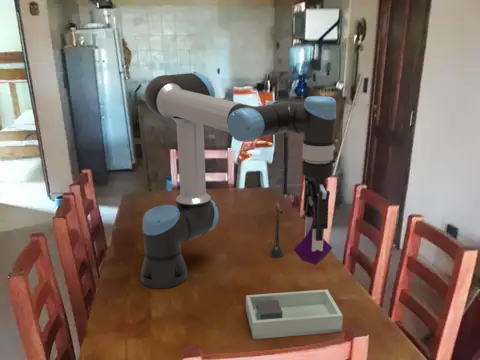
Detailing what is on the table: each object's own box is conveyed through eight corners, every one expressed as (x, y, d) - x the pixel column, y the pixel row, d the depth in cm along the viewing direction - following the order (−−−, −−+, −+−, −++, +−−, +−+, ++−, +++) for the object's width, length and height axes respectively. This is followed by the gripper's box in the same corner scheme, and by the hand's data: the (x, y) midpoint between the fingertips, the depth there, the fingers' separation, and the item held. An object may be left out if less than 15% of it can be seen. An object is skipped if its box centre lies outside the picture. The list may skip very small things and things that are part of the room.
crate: (252, 339, 114) (253, 322, 113) (245, 310, 127) (245, 295, 125) (341, 331, 117) (342, 315, 116) (326, 304, 130) (327, 289, 128)
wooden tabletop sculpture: (285, 258, 157) (287, 206, 151) (273, 260, 156) (274, 207, 150) (280, 251, 163) (281, 200, 157) (268, 252, 162) (269, 201, 156)
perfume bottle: (307, 250, 122) (310, 189, 117) (331, 258, 118) (336, 195, 112) (293, 260, 117) (295, 196, 111) (317, 269, 112) (321, 203, 107)
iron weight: (260, 327, 118) (260, 314, 116) (256, 313, 123) (256, 301, 122) (282, 325, 118) (282, 312, 117) (277, 312, 124) (277, 299, 123)
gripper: (345, 169, 100) (339, 260, 107) (320, 150, 118) (316, 229, 125) (314, 171, 99) (309, 262, 106) (293, 151, 117) (290, 231, 124)
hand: (313, 244), depth 116 cm, fingers closed on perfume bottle, 6 cm apart
